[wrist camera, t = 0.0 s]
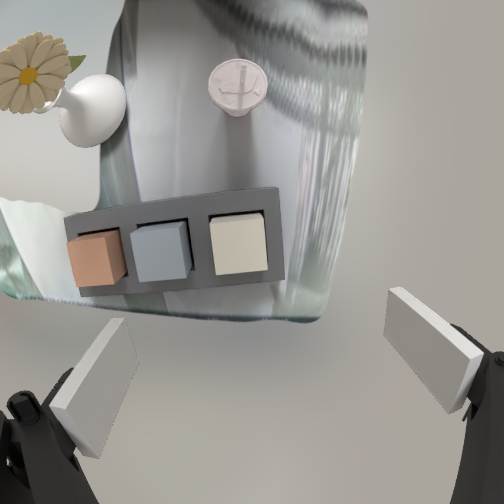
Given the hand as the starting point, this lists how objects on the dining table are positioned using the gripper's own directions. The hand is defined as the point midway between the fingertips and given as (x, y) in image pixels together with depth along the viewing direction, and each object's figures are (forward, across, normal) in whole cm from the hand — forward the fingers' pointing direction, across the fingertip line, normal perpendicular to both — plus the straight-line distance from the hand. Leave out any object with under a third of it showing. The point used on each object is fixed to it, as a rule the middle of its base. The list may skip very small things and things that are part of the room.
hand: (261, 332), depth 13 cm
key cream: (+25, -1, -1) cm, 25 cm away
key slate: (+25, -10, -1) cm, 27 cm away
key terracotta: (+25, -20, -1) cm, 32 cm away
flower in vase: (+28, -19, +20) cm, 40 cm away
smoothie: (+28, +1, +17) cm, 33 cm away
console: (+28, -10, -1) cm, 30 cm away
